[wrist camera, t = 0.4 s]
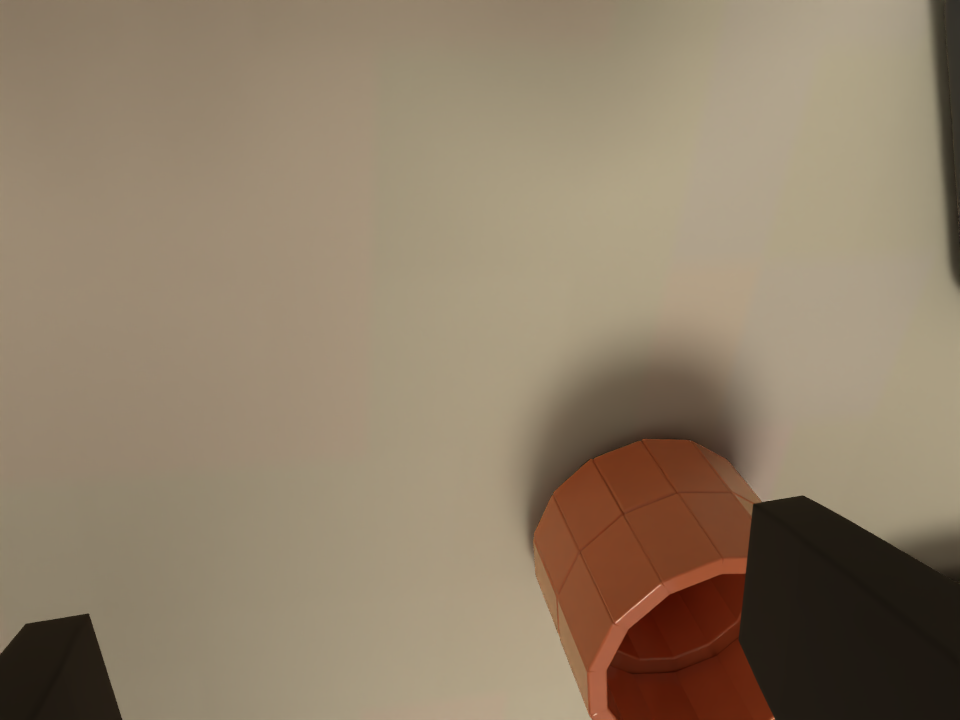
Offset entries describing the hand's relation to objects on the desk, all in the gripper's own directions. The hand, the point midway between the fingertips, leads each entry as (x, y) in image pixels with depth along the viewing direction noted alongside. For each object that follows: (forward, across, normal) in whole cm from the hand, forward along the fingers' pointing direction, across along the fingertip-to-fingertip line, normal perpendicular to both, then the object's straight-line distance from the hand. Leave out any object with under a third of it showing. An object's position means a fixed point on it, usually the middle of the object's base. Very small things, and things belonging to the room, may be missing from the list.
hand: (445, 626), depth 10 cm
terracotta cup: (+10, -6, +7) cm, 13 cm away
